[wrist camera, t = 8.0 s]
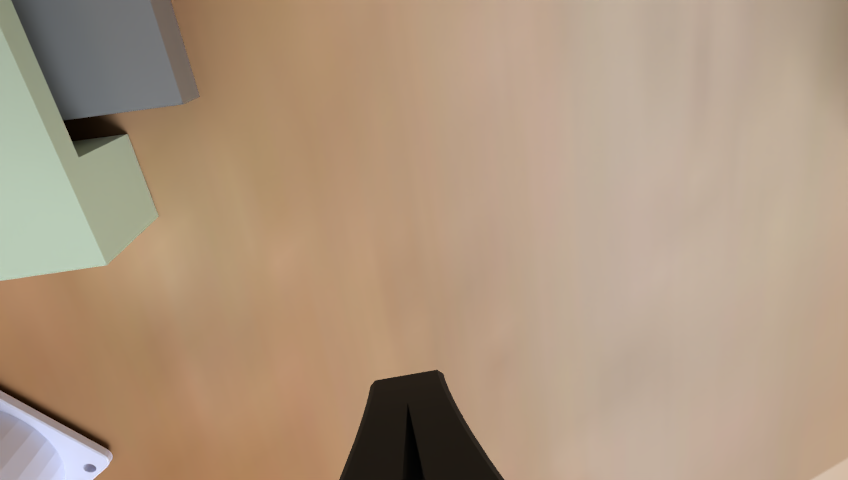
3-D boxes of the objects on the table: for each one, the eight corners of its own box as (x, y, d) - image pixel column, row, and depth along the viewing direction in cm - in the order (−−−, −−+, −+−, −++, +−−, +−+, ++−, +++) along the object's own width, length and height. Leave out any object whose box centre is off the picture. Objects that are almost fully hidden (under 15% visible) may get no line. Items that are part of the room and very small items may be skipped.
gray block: (151, -80, 14) (120, -94, 13) (203, 94, 17) (183, 104, 15) (-94, -50, 14) (-162, -60, 12) (-9, 123, 16) (-57, 136, 14)
